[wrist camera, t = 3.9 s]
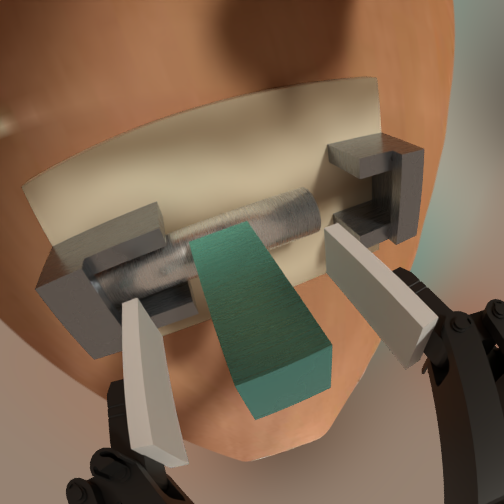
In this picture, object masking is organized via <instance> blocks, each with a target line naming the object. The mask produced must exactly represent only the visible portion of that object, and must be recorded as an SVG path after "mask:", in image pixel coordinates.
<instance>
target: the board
mask: <svg viewBox="0 0 504 504" xmlns="http://www.w3.org/2000/svg"><path fill="white" fill-rule="evenodd" d="M376 133H381V119H380V104H379V93H378V83H377V78H376V77H354V78H342V79H333V80H324V81H316V82H309V83H302V84H296V85H289V86H284V87H278V88H273V89H268V90H263V91H258V92H253V93H249V94H244V95H240V96H236V97H232V98H228V99H224V100H220V101H216V102H213V103H209V104H205V105H202V106H199V107H195V108H192V109H189V110H185V111H182V112H179V113H176V114H173V115H170V116H167V117H164V118H161V119H158V120H156V121H153V122H150V123H147V124H145V125H142V126H139V127H137V128H134V129H132V130H129V131H127V132H124V133H122V134H120V135H117V136H115V137H112V138H110V139H108V140H106V141H103V142H101V143H99V144H97V145H94V146H92V147H90V148H88V149H86V150H84V151H82V152H80V153H78V154H76V155H74V156H72V157H70V158H68V159H66V160H64V161H62V162H60V163H58V164H56V165H54V166H53V167H51V168H49V169H47V170H45V171H44V172H42V173H40V174H38V175H37V176H35V177H33V178H31V179H30V180H28V181H27V182H26V183H25V184H24V185H23V186H22V189H23V191H24V193H25V195H26V198H27V200H28V202H29V204H30V206H31V208H32V210H33V212H34V214H35V216H36V217H37V219H38V221H39V223H40V225H41V227H42V229H43V230H44V232H45V234H46V236H47V238H48V239H49V241H50V243H51V244H52V246H54V245H57V244H59V243H61V242H63V241H65V240H67V239H69V238H71V237H73V236H76V235H78V234H80V233H82V232H84V231H87V230H89V229H91V228H93V227H96V226H98V225H100V224H102V223H105V222H107V221H109V220H112V219H114V218H116V217H119V216H121V215H124V214H126V213H128V212H131V211H133V210H136V209H138V208H141V207H143V206H146V205H148V204H151V203H154V202H156V201H157V203H158V205H159V208H160V210H161V213H162V215H163V221H164V228H165V234H168V233H171V232H173V231H176V230H179V229H181V228H184V227H187V226H189V225H192V224H195V223H197V222H200V221H203V220H206V219H209V218H211V217H214V216H217V215H220V214H223V213H225V212H228V211H231V210H234V209H237V208H240V207H243V206H246V205H249V204H251V203H254V202H257V201H260V200H263V199H266V198H269V197H272V196H275V195H278V194H282V193H285V192H288V191H291V190H294V189H297V188H300V187H305V188H307V189H308V190H309V191H310V193H311V194H312V195H313V197H314V199H315V201H316V203H317V206H318V208H319V212H320V216H321V228H320V231H319V232H317V233H314V234H312V235H309V236H306V237H304V238H301V239H299V240H296V241H293V242H291V243H288V244H285V245H283V246H280V247H277V248H275V249H272V250H269V253H270V254H271V256H272V257H273V259H274V260H275V262H276V263H277V264H278V266H279V267H280V269H281V270H282V272H283V273H284V275H285V276H286V278H287V279H288V280H289V282H290V283H291V285H292V286H293V287H294V286H296V285H299V284H301V283H303V282H306V281H308V280H311V279H313V278H315V277H318V276H320V275H322V274H325V273H326V255H325V238H324V228H325V227H328V226H331V225H333V213H336V212H339V211H342V210H344V209H347V208H350V207H353V206H356V205H358V204H361V203H364V202H367V201H370V200H372V176H369V177H366V178H363V179H358V178H357V177H355V176H353V175H351V174H350V173H348V172H346V171H344V170H342V169H341V168H339V167H337V166H335V165H333V164H331V163H329V157H328V147H327V144H331V143H335V142H339V141H344V140H348V139H353V138H357V137H362V136H367V135H371V134H376ZM367 249H368V250H369V251H371V252H375V251H377V250H379V243H378V244H376V245H374V246H372V247H369V248H367ZM190 282H191V286H192V290H193V294H194V298H195V301H196V305H197V309H198V312H199V314H196V315H194V316H191V317H188V318H185V319H183V320H180V321H177V322H174V323H171V324H169V325H166V326H163V327H160V328H157V329H158V330H159V332H160V333H161V335H162V336H164V335H167V334H170V333H173V332H176V331H179V330H182V329H184V328H187V327H190V326H193V325H196V324H198V323H201V322H204V321H207V320H209V319H212V318H211V315H210V311H209V308H208V305H207V302H206V299H205V295H204V292H203V289H202V286H201V282H200V279H199V277H197V278H194V279H192V280H190Z"/></svg>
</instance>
